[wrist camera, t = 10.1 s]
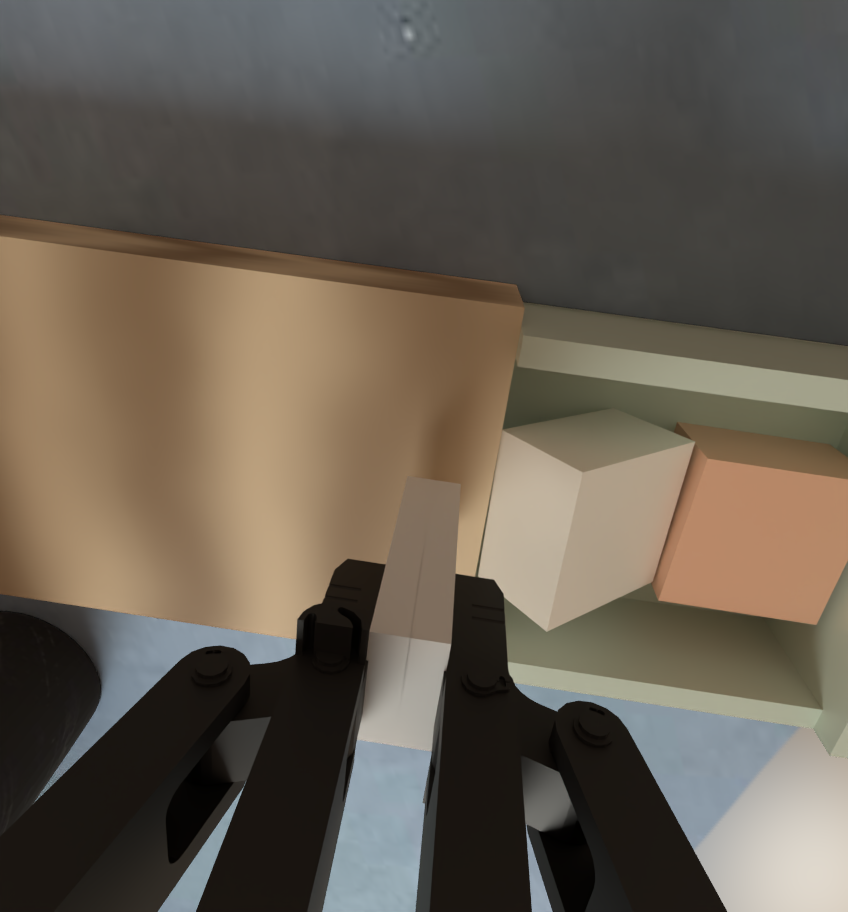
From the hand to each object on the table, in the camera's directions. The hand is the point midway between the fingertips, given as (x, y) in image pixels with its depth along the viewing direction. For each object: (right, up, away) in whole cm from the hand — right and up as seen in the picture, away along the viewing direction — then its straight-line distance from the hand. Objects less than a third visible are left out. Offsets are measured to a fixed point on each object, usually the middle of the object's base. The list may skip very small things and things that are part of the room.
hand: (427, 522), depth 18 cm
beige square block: (+4, +1, +2) cm, 5 cm away
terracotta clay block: (+10, -1, +1) cm, 10 cm away
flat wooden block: (-8, +3, +5) cm, 10 cm away
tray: (+8, +1, +4) cm, 9 cm away
